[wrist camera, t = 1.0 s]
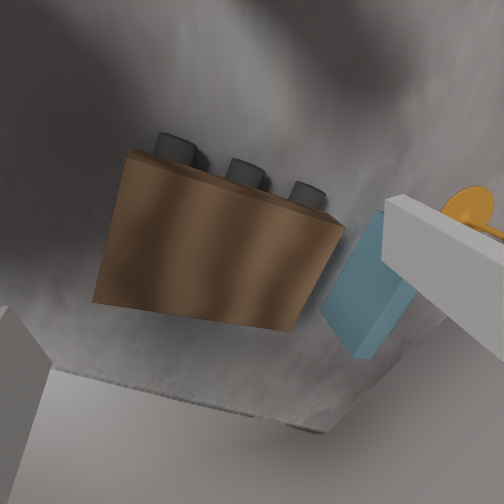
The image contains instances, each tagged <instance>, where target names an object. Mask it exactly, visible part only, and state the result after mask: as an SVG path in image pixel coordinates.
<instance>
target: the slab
mask: <svg viewBox="0 0 504 504" xmlns="http://www.w3.org/2000/svg"><path fill="white" fill-rule="evenodd" d="M344 230H345V227H344V226H343V225H342V224H340V223H339V222H338V221H337V220H336V219H334V218H333V217H332V216H331V215H329V214H328V213H327V212H324V211H321V210H318V209H315V208H312V207H309V206H306V205H303V204H300V203H297V202H294V201H291V200H288V199H285V198H282V197H279V196H276V195H273V194H270V193H267V192H264V191H261V190H258V189H255V188H252V187H249V186H246V185H243V184H240V183H237V182H234V181H231V180H228V179H225V178H222V177H219V176H216V175H213V174H210V173H207V172H204V171H201V170H198V169H195V168H192V167H189V166H186V165H183V164H180V163H177V162H174V161H171V160H168V159H165V158H162V157H159V156H156V155H153V154H150V153H147V152H144V151H141V150H138V149H135V148H132V147H130V149H129V151H128V154H127V156H126V160H125V164H124V169H123V173H122V177H121V181H120V186H119V190H118V194H117V198H116V203H115V207H114V211H113V215H112V220H111V224H110V228H109V232H108V237H107V241H106V245H105V250H104V254H103V258H102V262H101V267H100V271H99V275H98V279H97V284H96V288H95V292H94V296H93V301H92V302H93V303H99V304H106V305H112V306H119V307H126V308H132V309H139V310H146V311H152V312H159V313H166V314H172V315H179V316H185V317H192V318H199V319H205V320H212V321H219V322H225V323H232V324H239V325H245V326H252V327H258V328H265V329H272V330H278V331H285V332H290V331H291V329H292V327H293V325H294V323H295V321H296V320H297V318H298V316H299V314H300V312H301V310H302V308H303V306H304V305H305V303H306V301H307V299H308V297H309V295H310V293H311V292H312V290H313V288H314V286H315V284H316V282H317V280H318V279H319V277H320V275H321V273H322V271H323V269H324V267H325V265H326V264H327V262H328V260H329V258H330V256H331V254H332V252H333V251H334V249H335V247H336V245H337V243H338V241H339V239H340V238H341V236H342V234H343V232H344Z"/></svg>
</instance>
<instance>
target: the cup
mask: <svg viewBox="0 0 504 504" xmlns="http://www.w3.org/2000/svg"><path fill="white" fill-rule="evenodd" d="M493 207H494V201H493V196H492V193H491V192H489V191H488V190H487V189H486V188H485V187H477V186H473V187H470V188H467V189H464V190H462V191H461V192H459V193H458V194H456V195H455V196H454V197H452V198H451V199H450V200H449V201H448V203H447V204H446V205H445V206H444V207H443V209H442V210H441V212H440V213H442V214H444V215H446V216H448V217H450V218H452V219H454V220H456V221H458V222H460V223H462V224H464V225H466V226H468V227H470V228H472V229H474V230H476V231H478V232H481V231H482V230H483V231H485V232H487V233H489V234H491V235H493V236H495V237H497V238H499V239H501V240H503V241H504V233H503V232H501V231H499V230H497V229H495V228H492V227H490V226H488V225H487V223H488V221H489V220H490V218H491V216H492V212H493Z"/></svg>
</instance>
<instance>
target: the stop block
mask: <svg viewBox="0 0 504 504" xmlns="http://www.w3.org/2000/svg"><path fill="white" fill-rule="evenodd" d="M383 224H384V212H381V211H379V210H377V211H376V212H375V214H374V216H373V218H372V219H371V221H370V223H369V225H368V227H367V228H366V230H365V232H364V234H363V235H362V237H361V239H360V241H359V243H358V244H357V246H356V248H355V250H354V251H353V253H352V255H351V257H350V258H349V260H348V262H347V264H346V266H345V267H344V269H343V271H342V273H341V274H340V276H339V278H338V280H337V282H336V283H335V285H334V287H333V289H332V290H331V292H330V294H329V296H328V298H327V299H326V301H325V303H324V305H323V306H322V308H321V310H320V312H321V313H322V315H323V316H324V317H325V319H326V320H327V322H328V323H329V325H330V326H331V328H332V329H333V331H334V332H335V334H336V335H337V337H338V338H339V339H340V341H341V342H342V344H343V345H344V347H345V348H346V350H347V351H348V353H349V354H350V356H351V357H352V358H358V359H366V360H371V359H372V358H373V356H374V355H375V354H376V352H377V351H378V349H379V348H380V346H381V345H382V343H383V342H384V340H385V339H386V337H387V336H388V335H389V333H390V332H391V330H392V329H393V327H394V326H395V324H396V323H397V321H398V320H399V319H400V317H401V316H402V314H403V313H404V311H405V310H406V308H407V307H408V305H409V304H410V302H411V301H412V300H413V298H414V297H415V295H416V294H417V292H418V291H417V290H416V289H415V288H414V287H413V286H411V285H410V284H409V283H408V282H407V281H405V280H404V279H403V278H402V277H401V276H399V275H398V274H397V273H396V272H395V271H393V270H392V269H391V268H390V267H389V266H387V265H386V264H385V263H384V262H383V261H381V253H382V239H383Z"/></svg>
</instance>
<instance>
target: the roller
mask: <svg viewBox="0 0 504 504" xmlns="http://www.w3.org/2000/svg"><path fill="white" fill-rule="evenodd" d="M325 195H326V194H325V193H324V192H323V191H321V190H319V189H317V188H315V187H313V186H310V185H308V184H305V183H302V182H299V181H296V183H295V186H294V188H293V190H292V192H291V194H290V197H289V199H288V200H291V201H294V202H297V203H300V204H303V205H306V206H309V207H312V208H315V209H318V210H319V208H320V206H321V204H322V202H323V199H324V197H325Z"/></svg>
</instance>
